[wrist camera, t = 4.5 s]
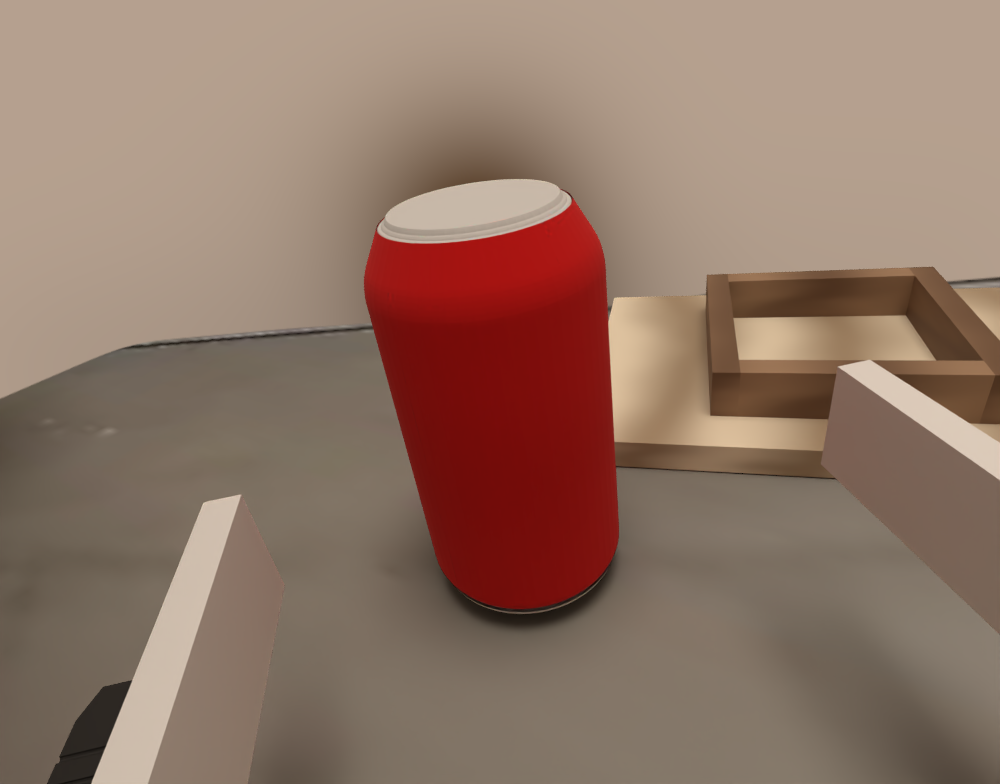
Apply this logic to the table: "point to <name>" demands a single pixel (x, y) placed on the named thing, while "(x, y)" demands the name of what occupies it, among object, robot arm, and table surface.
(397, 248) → the beverage can
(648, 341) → the collar board
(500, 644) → the table surface
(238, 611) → the robot arm
